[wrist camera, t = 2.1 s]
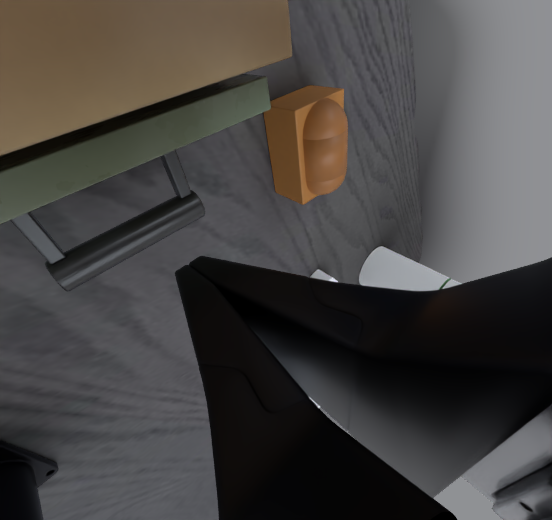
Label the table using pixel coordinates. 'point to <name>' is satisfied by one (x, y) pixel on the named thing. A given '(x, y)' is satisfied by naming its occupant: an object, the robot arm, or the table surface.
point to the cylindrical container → (400, 273)
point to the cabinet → (122, 57)
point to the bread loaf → (307, 142)
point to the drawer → (114, 160)
